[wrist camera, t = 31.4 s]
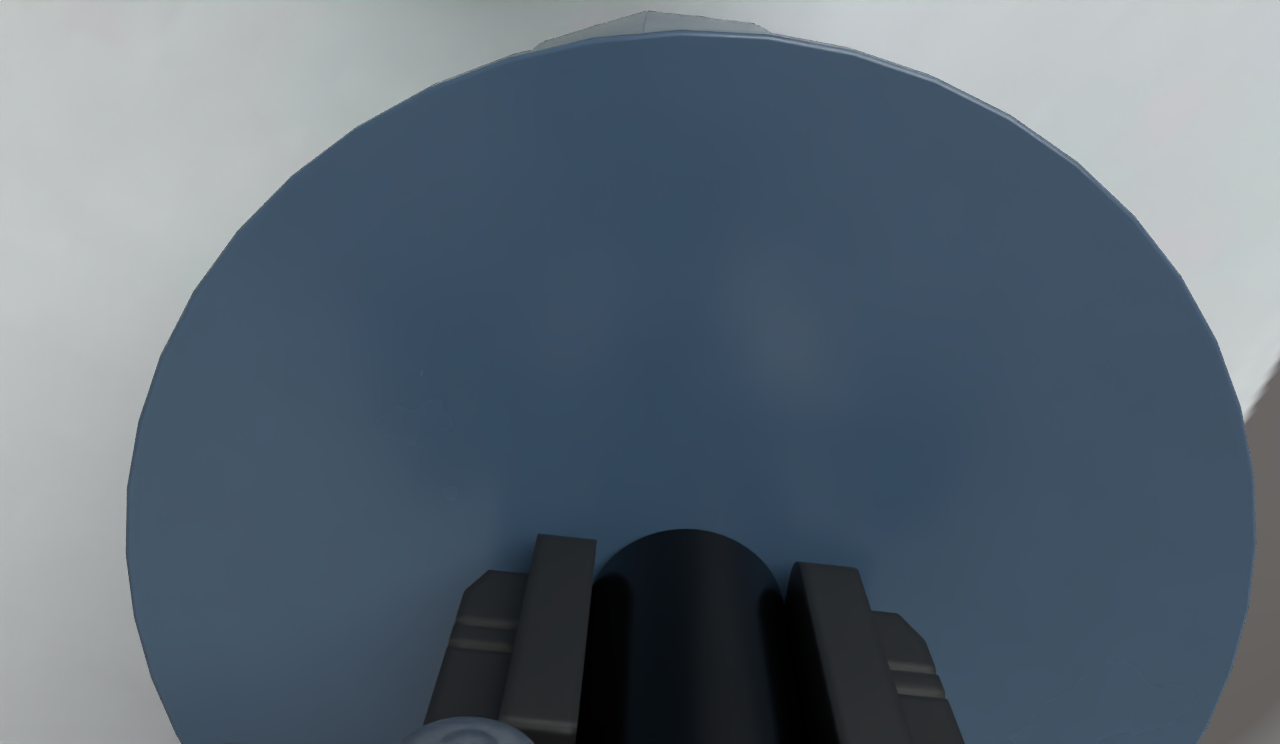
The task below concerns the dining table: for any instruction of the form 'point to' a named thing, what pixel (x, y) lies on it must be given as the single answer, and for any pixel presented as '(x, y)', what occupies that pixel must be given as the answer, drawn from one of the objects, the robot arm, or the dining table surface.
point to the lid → (692, 408)
